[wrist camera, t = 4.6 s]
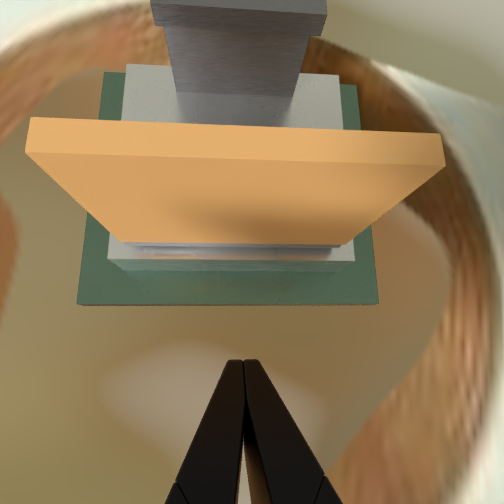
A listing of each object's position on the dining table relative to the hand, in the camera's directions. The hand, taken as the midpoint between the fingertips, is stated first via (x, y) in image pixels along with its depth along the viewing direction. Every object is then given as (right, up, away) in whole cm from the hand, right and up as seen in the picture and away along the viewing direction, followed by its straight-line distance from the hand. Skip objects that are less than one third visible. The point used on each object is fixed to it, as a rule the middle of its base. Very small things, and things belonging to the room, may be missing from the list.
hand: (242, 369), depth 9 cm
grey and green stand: (-1, +8, +14) cm, 16 cm away
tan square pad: (-1, +4, +8) cm, 9 cm away
